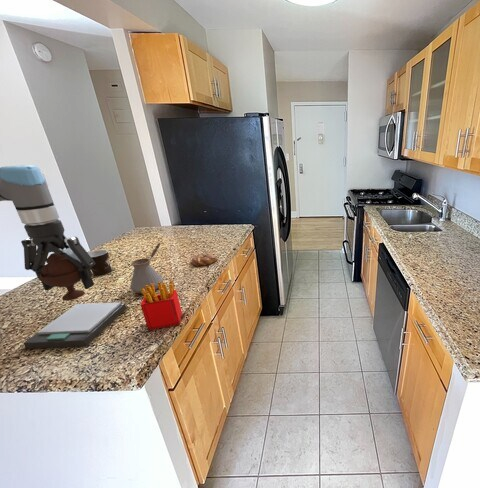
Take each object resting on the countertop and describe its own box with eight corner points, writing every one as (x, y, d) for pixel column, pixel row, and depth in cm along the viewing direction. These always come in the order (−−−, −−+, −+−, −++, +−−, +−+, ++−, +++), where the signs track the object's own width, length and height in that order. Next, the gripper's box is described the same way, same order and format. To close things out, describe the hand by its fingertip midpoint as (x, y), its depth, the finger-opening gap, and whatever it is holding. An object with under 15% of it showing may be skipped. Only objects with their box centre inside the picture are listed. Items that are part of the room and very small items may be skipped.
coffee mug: (103, 268, 126) (96, 249, 123) (119, 269, 125) (112, 250, 121) (79, 279, 116) (71, 259, 112) (96, 281, 114) (88, 260, 111)
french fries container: (153, 318, 90) (142, 284, 85) (182, 313, 94) (174, 279, 88) (148, 331, 84) (136, 295, 79) (179, 325, 87) (170, 289, 82)
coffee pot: (155, 296, 103) (145, 262, 98) (125, 297, 103) (114, 263, 97) (180, 271, 123) (173, 242, 118) (155, 271, 123) (147, 242, 117)
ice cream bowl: (41, 301, 81) (20, 258, 75) (83, 284, 90) (67, 244, 85) (62, 309, 77) (42, 263, 72) (103, 290, 87) (88, 249, 81)
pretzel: (220, 257, 138) (219, 251, 136) (212, 266, 128) (211, 260, 126) (197, 257, 137) (196, 251, 136) (188, 267, 127) (186, 260, 126)
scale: (26, 349, 77) (21, 340, 76) (78, 310, 95) (75, 303, 94) (86, 346, 78) (82, 338, 77) (126, 308, 96) (124, 301, 95)
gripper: (95, 217, 79) (116, 280, 87) (12, 218, 77) (42, 282, 85) (74, 224, 72) (100, 292, 80) (-17, 226, 70) (18, 295, 78)
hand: (70, 287), depth 83 cm, fingers closed on ice cream bowl, 11 cm apart
